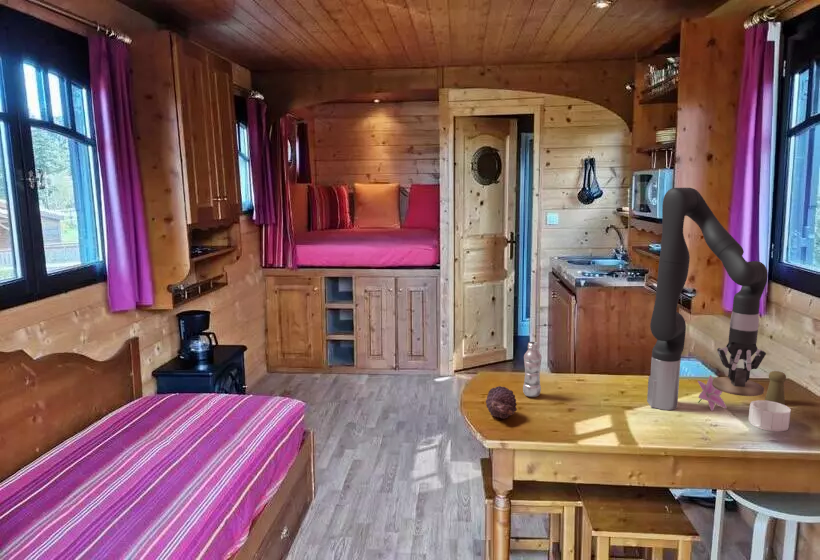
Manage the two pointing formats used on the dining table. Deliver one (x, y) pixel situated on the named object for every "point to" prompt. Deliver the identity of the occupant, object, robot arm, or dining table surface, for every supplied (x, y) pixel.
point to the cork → (776, 387)
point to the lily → (711, 394)
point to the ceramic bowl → (769, 415)
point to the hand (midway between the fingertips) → (738, 380)
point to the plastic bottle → (532, 370)
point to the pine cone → (501, 402)
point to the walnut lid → (738, 385)
